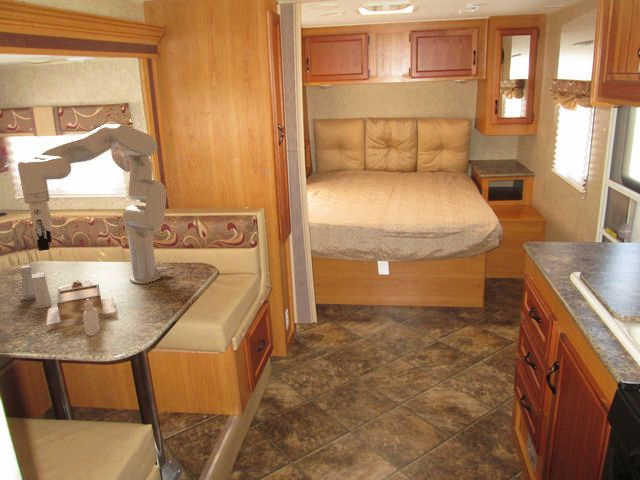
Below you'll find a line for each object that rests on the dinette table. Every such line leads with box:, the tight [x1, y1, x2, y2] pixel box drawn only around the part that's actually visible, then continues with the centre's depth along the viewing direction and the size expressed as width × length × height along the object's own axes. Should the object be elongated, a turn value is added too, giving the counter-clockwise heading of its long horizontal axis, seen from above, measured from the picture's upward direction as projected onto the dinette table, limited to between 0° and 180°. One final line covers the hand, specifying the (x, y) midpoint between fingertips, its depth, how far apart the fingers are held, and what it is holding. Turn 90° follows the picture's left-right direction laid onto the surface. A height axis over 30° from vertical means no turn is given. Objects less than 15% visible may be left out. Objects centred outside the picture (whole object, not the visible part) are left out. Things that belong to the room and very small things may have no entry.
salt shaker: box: [18, 264, 36, 301], centre depth 199 cm, size 6×6×13 cm
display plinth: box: [46, 283, 118, 331], centre depth 183 cm, size 22×14×9 cm, turn 115°
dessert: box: [57, 279, 94, 291], centre depth 208 cm, size 12×12×5 cm
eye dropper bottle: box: [83, 299, 101, 337], centre depth 170 cm, size 4×6×12 cm
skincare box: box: [31, 271, 52, 309], centre depth 193 cm, size 6×4×12 cm
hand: (45, 246), depth 177 cm, fingers open, 9 cm apart
